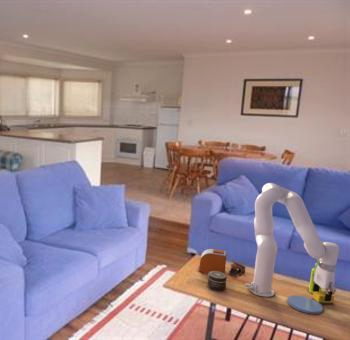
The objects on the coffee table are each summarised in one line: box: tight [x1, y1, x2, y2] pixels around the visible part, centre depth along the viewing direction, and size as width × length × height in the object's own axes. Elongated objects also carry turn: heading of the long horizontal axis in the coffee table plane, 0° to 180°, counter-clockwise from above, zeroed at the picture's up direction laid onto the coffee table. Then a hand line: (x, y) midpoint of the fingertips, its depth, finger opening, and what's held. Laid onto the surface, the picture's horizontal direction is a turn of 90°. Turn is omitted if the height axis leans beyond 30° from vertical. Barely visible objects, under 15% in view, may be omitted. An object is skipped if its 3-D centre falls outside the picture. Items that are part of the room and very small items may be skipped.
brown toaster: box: [198, 248, 228, 275], centre depth 228 cm, size 15×8×14 cm, turn 69°
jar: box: [207, 271, 228, 292], centre depth 208 cm, size 10×10×8 cm
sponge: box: [312, 291, 335, 305], centre depth 197 cm, size 8×5×4 cm, turn 92°
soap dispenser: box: [308, 259, 323, 295], centre depth 205 cm, size 6×7×20 cm
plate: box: [287, 295, 324, 315], centre depth 192 cm, size 16×16×1 cm
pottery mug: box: [228, 261, 246, 278], centre depth 224 cm, size 12×10×8 cm
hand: (321, 296), depth 197 cm, fingers open, 9 cm apart
